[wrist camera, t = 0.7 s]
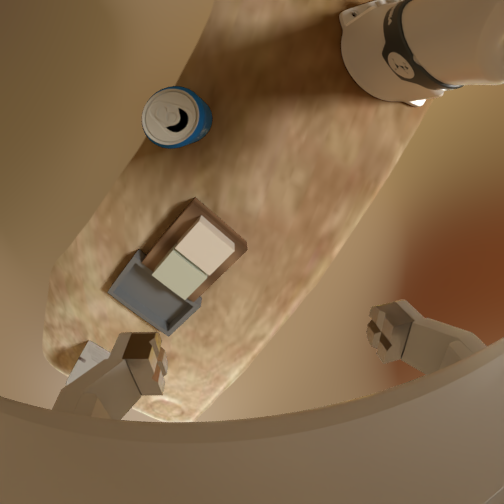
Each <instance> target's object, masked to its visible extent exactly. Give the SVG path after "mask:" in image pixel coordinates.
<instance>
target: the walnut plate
mask: <svg viewBox="0 0 504 504" xmlns="http://www.w3.org/2000/svg"><path fill="white" fill-rule="evenodd" d="M201 215H202V216H203V217H204V218H205V219H207V220H208V221H209V222H210V223H211V224H212V225H214V226H215V227H216V228H217V229H218V230H219V231H221V232H222V233H223V234H224V235H225V236H226V237H228V238H229V239H230V240H231V241H232V242H233V243H234V244H235V251H234V252H233V253H232V254H231V255H230V256H229V257H228V258H227V259H226V260H225V261H224V262H223V263H222V264H221V265H220V266H219V267H218V268H217V269H216V270H215V271H214V272H213V273H212V274H211V275H210V276H209V275H208V276H207V279H206V280H205V281H204V282H203V283H202V284H201V285H200V286H199V287H198V288H197V289H196V290H195V291H194V292H193V293H192V294H191V295H190V296H189V297H188V299H190V300H191V301H192V302H194V301H195V300H196V299H197V298H198V297H200V296H201V295H202V294H203V293H204V292H205V291H206V290H207V289H208V288H209V287H210V286H211V285H212V284H213V283H214V282H215V281H216V280H217V279H218V278H219V277H220V276H221V275H222V274H223V273H224V272H225V271H226V270H227V269H228V268H229V267H230V266H231V265H232V264H234V263H235V262H236V261H237V260H238V259H239V258H240V257H241V256H242V255H243V254H244V253H245V252H246V251H247V242H246V241H245V240H244V239H243V238H242V237H241V236H240V235H238V234H237V233H236V232H235V231H234V230H233V229H231V228H230V227H229V226H228V225H227V224H226V223H225V222H223V221H222V220H221V219H220V218H219V217H218V216H216V215H215V214H214V213H213V212H212V211H211V210H210V209H208V208H207V207H206V206H205V205H204V204H203V203H201V202H200V201H199V200H198V199H197V198H196V197H195V198H194V199H193V200H192V201H191V203H190V204H189V205H188V206H187V207H186V208H185V209H184V211H183V212H182V213H181V214H180V215H179V216H178V217H177V219H176V220H175V221H174V222H173V223H172V224H171V226H170V227H169V228H168V229H167V230H166V231H165V233H164V234H163V235H162V236H161V237H160V239H159V240H158V241H157V242H156V244H155V245H154V246H153V247H152V248H151V250H150V251H149V252H148V253H147V255H146V256H145V258H144V260H143V261H142V264H144V265H145V266H146V267H147V268H149V269H150V270H151V271H154V269H155V267H156V266H157V265H158V264H159V262H160V261H161V260H162V259H163V258H164V257H165V255H166V254H167V253H168V252H169V251H170V250H171V248H172V247H173V246H174V245H175V244H177V242H178V240H179V239H180V238H181V237H182V236H183V235H184V234H185V233H186V231H187V230H188V229H189V228H190V227H191V226H192V225H193V224H194V223H195V221H196V220H197V219H198V218H199V217H200V216H201Z"/></svg>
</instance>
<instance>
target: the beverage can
mask: <svg viewBox="0 0 504 504" xmlns="http://www.w3.org/2000/svg"><path fill="white" fill-rule="evenodd" d="M211 125H212V113H211V110H210V108H209V106H208V105H207V104H206V103H205V102H204V101H203V100H202V99H201V98H200V97H199V96H198V95H196V94H195V93H194V92H193V91H191V90H189V89H187V88H184V87H179V86H173V87H167V88H164V89H162V90H160V91H158V92H156V93H155V94H154V95H153V96H152V97H151V98H150V99H149V100H148V101H147V103H146V105H145V107H144V109H143V112H142V127H143V130H144V132H145V134H146V136H147V137H148V138H149V140H150V141H152V142H153V143H154V144H156V145H158V146H160V147H163V148H170V149H171V148H179V147H182V146H185V145H188V144H191V143H194V142H196V141H199V140H200V139H202V138H203V137H204V136H205V135H206V134H207V133H208V131H209V130H210V128H211Z"/></svg>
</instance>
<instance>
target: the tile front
mask: <svg viewBox="0 0 504 504" xmlns="http://www.w3.org/2000/svg"><path fill="white" fill-rule="evenodd" d="M175 249H176V250H178V251H179V252H180V253H181V254H183V255H184V256H185V257H186V258H188V259H189V260H190V261H191V262H193V263H194V264H195V265H196V266H198V267H199V268H200V269H201V270H203V271H204V272H205V273H207V274H208V275H209V276H210V275H211V274H212V273H213V272H214V271H215V270H216V269H217V268H218V267H219V266H220V265H221V264H222V263H223V262H224V261H225V260H226V259H227V258H228V257H229V256H230V255H231V254H232V253H233V252H234V251H235V244H234V243H233V242H232V241H231V240H230V239H229V238H228V237H226V236H225V235H224V234H223V233H222V232H221V231H219V230H218V229H217V228H216V227H215V226H214V225H212V224H211V223H210V222H209V221H208V220H207V219H205V218H204V217H203V216H202V215H201V216H200V217H199V218H198V219H197V220H196V221H195V223H194V224H193V225H192V226H191V227H190V228H189V229H188V230H187V231H186V233H185V234H184V235H183V236H182V237H181V238H180V239H179V240H178V242H177V245H176V247H175Z"/></svg>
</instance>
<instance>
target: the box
mask: <svg viewBox="0 0 504 504" xmlns="http://www.w3.org/2000/svg"><path fill="white" fill-rule="evenodd" d="M145 256H146V254H144V253H143V252H142V251H141V250H139V249H138V251H137V252H136V253H135V255H134V256H133V257H132V259H131V260H130V261H129V263H128V264H127V265H126V267H125V268H124V269H123V271H122V272H121V273H120V275H119V276H118V277H117V279H116V280H115V282H114V283H113V284H112V286H111V287H110V289H109V291H108V292H107V293H109V294H110V295H111V296H113V297H114V298H115V299H117V300H118V301H119V302H120V303H122V304H123V305H124V306H126V307H127V308H129V309H130V310H131V311H133V312H134V313H135V314H137V315H138V316H140V317H141V318H142V319H144V320H145V321H147V322H148V323H149V324H151V325H152V326H154V327H155V328H157V329H158V330H160V331H161V332H163V333H164V334H166V335H167V336H170V335H171V334H172V333H173V332H174V331H175V330H176V329H177V328H178V327H179V326H181V325H182V324H183V323H184V322H185V321H186V320H187V319H188V318H189V317H190V316H191V315H192V314H193V313H194V312H195V311H196V310H198V309H199V308H200V307H201V300H202V298H201V297H198V298H197V299H196V300H195V301H194V302H192V301H191V300H190V299H188V298H187V299H186V300H184V299H183V298H181V297H180V296H179V295H177V294H176V293H175V292H173V291H172V290H171V289H169V288H168V287H167V286H165V285H164V284H163V283H161V282H160V281H159V280H157V279H156V278H155V277H153V276H152V273H153V271H151V270H150V269H149V268H147V267H146V266H145V265H144V264H142V261H143V260H144V258H145Z"/></svg>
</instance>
